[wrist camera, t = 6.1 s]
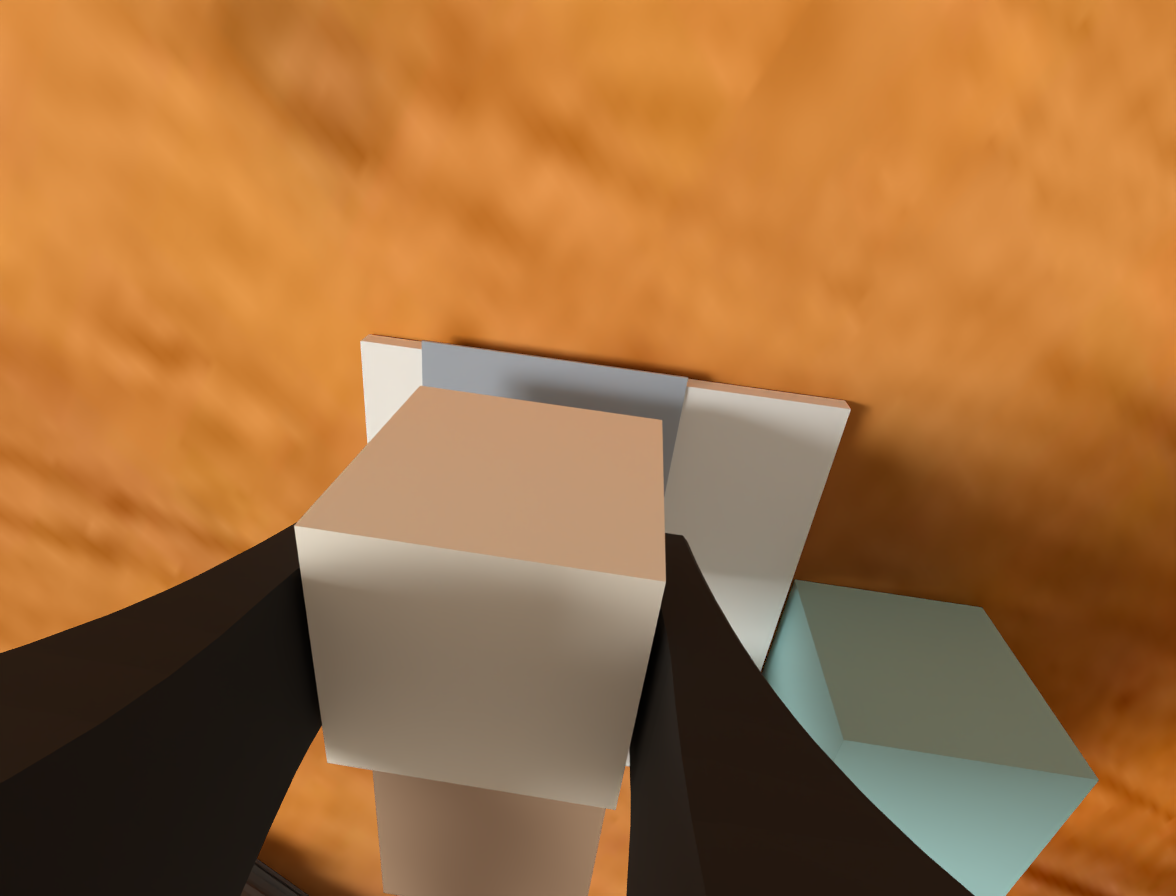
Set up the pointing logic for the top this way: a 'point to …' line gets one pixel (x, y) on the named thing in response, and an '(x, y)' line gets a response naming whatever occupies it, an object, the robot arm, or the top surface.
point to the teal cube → (930, 725)
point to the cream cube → (489, 594)
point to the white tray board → (667, 455)
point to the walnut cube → (481, 840)
